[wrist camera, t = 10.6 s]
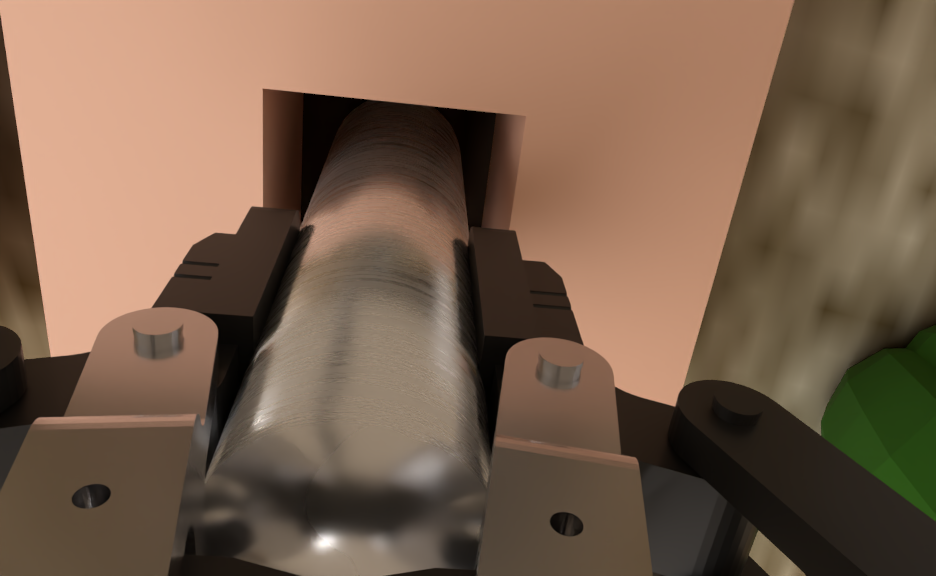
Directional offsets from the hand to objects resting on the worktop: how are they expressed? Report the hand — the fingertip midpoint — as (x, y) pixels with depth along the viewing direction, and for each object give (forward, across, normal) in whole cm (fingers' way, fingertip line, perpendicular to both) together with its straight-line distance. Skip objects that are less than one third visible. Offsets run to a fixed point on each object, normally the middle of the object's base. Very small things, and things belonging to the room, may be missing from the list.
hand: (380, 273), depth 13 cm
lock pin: (+6, 0, 0) cm, 6 cm away
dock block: (+7, 0, 0) cm, 7 cm away
